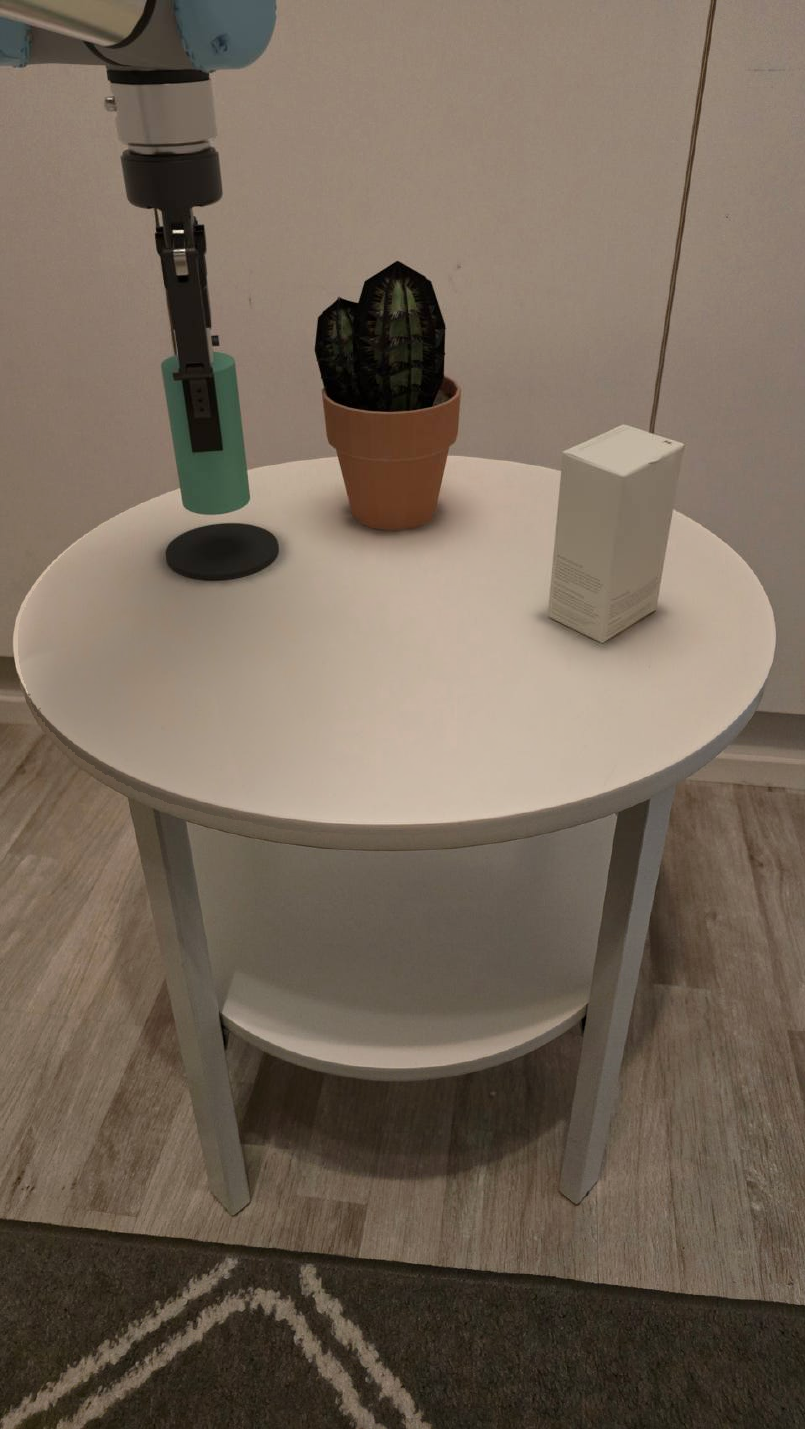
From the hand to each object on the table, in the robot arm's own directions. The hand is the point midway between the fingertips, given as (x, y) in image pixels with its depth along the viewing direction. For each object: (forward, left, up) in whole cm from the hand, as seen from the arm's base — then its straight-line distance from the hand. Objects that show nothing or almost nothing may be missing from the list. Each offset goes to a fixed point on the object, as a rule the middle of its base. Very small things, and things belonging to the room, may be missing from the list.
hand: (207, 434), depth 90 cm
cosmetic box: (+33, -18, -12) cm, 39 cm away
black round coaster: (0, 0, -12) cm, 12 cm away
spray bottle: (0, 0, -6) cm, 6 cm away
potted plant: (+18, +6, -12) cm, 23 cm away
